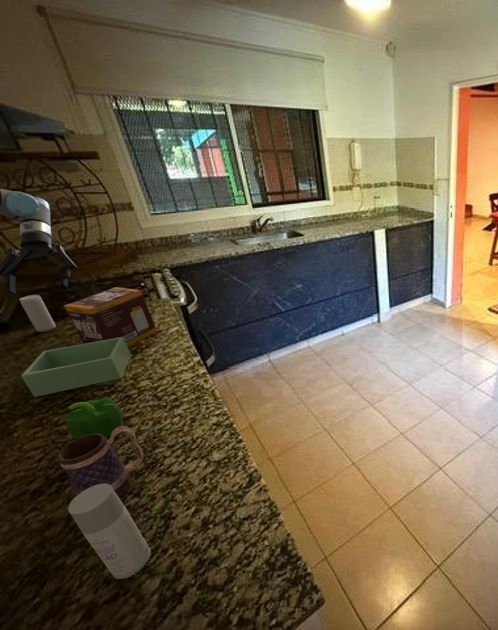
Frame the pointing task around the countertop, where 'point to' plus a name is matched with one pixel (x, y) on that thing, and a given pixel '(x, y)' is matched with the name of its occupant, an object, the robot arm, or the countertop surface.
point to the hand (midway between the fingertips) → (38, 289)
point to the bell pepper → (94, 418)
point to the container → (110, 530)
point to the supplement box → (112, 316)
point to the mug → (98, 462)
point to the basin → (77, 366)
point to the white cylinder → (37, 313)
